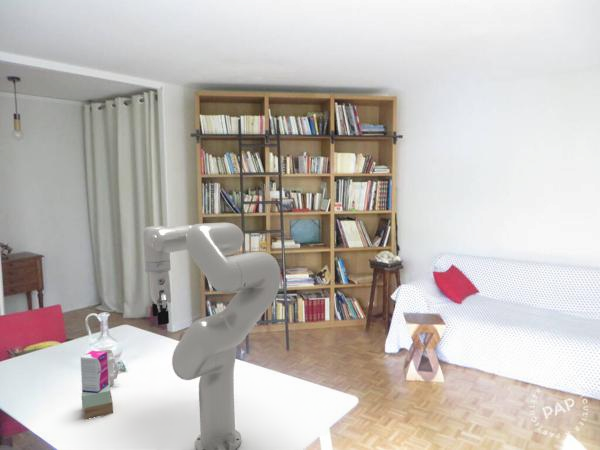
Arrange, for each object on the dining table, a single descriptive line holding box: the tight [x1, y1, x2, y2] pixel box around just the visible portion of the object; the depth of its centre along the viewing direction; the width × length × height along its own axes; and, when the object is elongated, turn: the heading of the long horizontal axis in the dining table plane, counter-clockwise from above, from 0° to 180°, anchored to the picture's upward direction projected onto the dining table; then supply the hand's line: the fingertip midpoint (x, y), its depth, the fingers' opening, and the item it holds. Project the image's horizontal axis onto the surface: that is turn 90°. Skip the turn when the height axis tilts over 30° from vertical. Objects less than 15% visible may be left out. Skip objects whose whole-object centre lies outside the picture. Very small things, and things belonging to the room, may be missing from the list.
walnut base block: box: [84, 395, 114, 420], centre depth 140 cm, size 8×8×4 cm
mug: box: [98, 348, 120, 387], centre depth 157 cm, size 10×7×12 cm, turn 70°
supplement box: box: [80, 350, 109, 393], centre depth 139 cm, size 6×6×12 cm
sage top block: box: [81, 380, 112, 409], centre depth 140 cm, size 8×8×4 cm
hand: (160, 319), depth 136 cm, fingers open, 9 cm apart
